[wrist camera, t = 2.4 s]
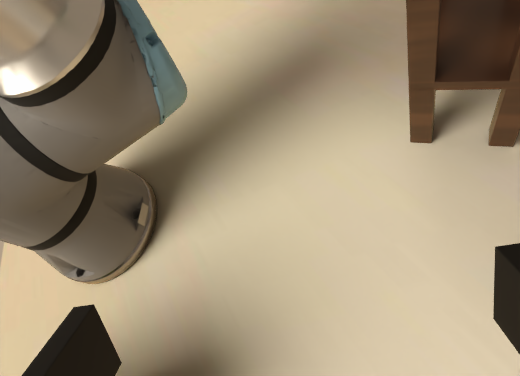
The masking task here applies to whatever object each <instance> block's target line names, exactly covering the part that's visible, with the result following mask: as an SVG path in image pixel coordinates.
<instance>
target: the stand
mask: <svg viewBox="0 0 520 376" xmlns="http://www.w3.org/2000/svg"><path fill="white" fill-rule="evenodd" d="M406 9H407V42H408V76H409V109H410V142H416V143H431V142H432V134H433V125H434V110H435V95H436V90H473V89H501V92H500V95H499V98H498V102H497V105H496V109H495V112H494V115H493V119H492V122H491V126H490V130H489V146H508V147H513V145H514V143H515V141H516V138H517V136H518V134H519V131H520V0H406Z"/></svg>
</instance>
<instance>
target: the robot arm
mask: <svg viewBox="0 0 520 376" xmlns="http://www.w3.org/2000/svg"><path fill="white" fill-rule="evenodd" d="M186 97H187V87H186V84H185V82H184V80H183V78H182V76H181V74H180V72H179V70H178V69H177V67H176V65H175V63H174V61H173V60H172V58H171V56H170V55H169V53H168V51H167V50H166V48H165V46H164V45H163V43H162V41H161V40H160V38H159V37H158V36H157V33H156V32H155V30H154V28H153V27H152V25H151V23H150V21H149V19H148V18H147V16H146V15H145V13H144V11H143V10H142V8H141V6H140V5H139V3H138V2H137V0H0V240H1V241H4V242H7V243H10V244H14V245H17V246H21V247H24V248H27V249H30V250H33V251H35V252H36V253H37V254H38V255H39V256H41V257H42V258H43V259H44V260H45V261H47V262H48V263H49V264H50V265H51V266H53V267H54V268H55V269H56V270H58V271H59V272H60V273H61V274H63V275H64V276H66V277H68V278H70V279H72V280H75V281H79V282H82V283H87V284H98V283H103V282H106V281H109V280H111V279H113V278H115V277H117V276H119V275H120V274H122V273H123V272H124V271H126V270H127V269H128V268H129V267H130V266H131V265H132V264H133V263H134V262H135V261H136V260H137V259H138V258H139V256H140V255H141V254H142V252H143V251H144V249H145V248H146V246H147V244H148V242H149V240H150V238H151V235H152V233H153V230H154V227H155V222H156V216H157V203H156V198H155V194H154V192H153V190H152V188H151V186H150V185H149V184H148V183H147V182H146V181H145V180H144V179H143V178H141V177H140V176H139V175H137V174H136V173H134V172H132V171H129V170H127V169H124V168H120V167H116V166H111V165H107V164H104V163H106V162H107V161H109V160H110V159H111V158H113V157H114V156H116V155H117V154H119V153H120V152H121V151H123V150H124V149H126V148H127V147H129V146H130V145H131V144H133V143H134V142H136V141H137V140H139V139H140V138H141V137H143V136H144V135H146V134H147V133H149V132H150V131H151V130H153V129H154V128H156V127H157V126H158V125H161V124H163V123H164V121H165V119H166V118H167V117H168V116H170V115H171V114H172V113H173V112H174V111H176V110H177V109H178V108H179V107H180V106H181V105H183V103H184V102H185V100H186ZM494 320H495V321H496V323H497V324H498V325H499V327H500V328H501V329H502V331H503V332H504V333H505V335H506V336H507V338H508V339H509V340H510V342H511V343H512V344H513V346H514V347H515V349H516V350H517V351H518V353H519V354H520V243H519V244H512V245H505V246H498V247H495V277H494ZM121 363H122V362H121V360H120V358H119V356H118V354H117V352H116V350H115V348H114V346H113V344H112V341H111V339H110V337H109V335H108V333H107V331H106V329H105V327H104V325H103V323H102V321H101V318H100V316H99V314H98V312H97V310H96V308H95V306H94V305H87V306H80V307H74V308H73V309H72V310H71V312H70V313H69V314H68V316H67V317H66V318H65V320H64V321H63V322H62V323H61V325H60V326H59V327H58V329H57V330H56V331H55V333H54V334H53V335H52V337H51V338H50V339H49V340H48V342H47V343H46V344H45V346H44V347H43V348H42V350H41V351H40V352H39V354H38V355H37V356H36V358H35V359H34V360H33V361H32V363H31V364H30V365H29V367H28V368H27V369H26V371H25V372H24V373H23V375H22V376H115V375H116V373H117V371H118V369H119V367H120V365H121Z"/></svg>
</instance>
